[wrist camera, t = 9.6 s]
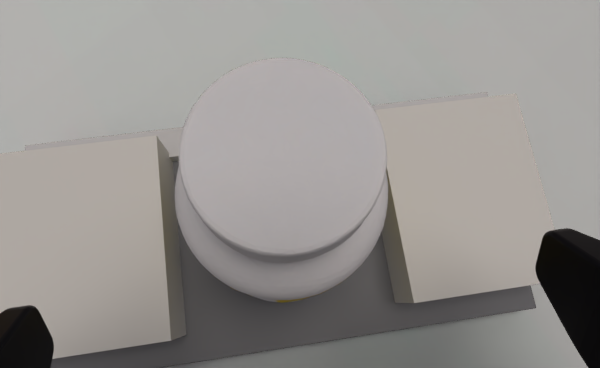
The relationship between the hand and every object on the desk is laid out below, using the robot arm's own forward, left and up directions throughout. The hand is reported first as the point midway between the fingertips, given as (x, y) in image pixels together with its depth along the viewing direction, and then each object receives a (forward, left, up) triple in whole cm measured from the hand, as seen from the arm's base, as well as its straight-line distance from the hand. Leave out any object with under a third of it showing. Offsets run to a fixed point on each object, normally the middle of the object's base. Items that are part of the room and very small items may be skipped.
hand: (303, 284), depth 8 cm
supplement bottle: (+2, +2, -10) cm, 10 cm away
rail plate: (+2, +2, -11) cm, 11 cm away
